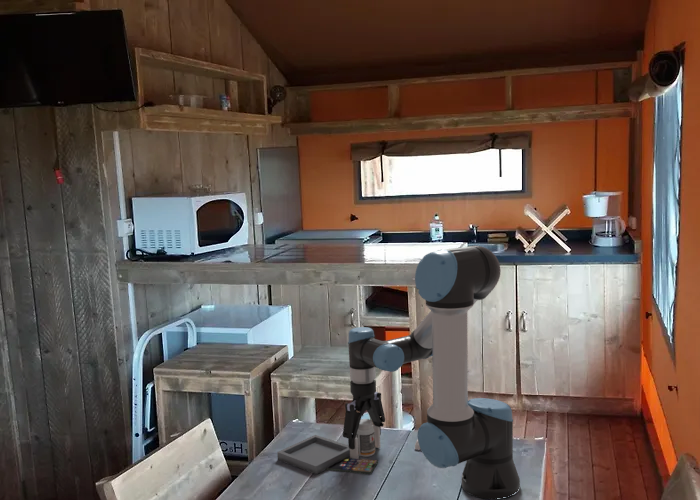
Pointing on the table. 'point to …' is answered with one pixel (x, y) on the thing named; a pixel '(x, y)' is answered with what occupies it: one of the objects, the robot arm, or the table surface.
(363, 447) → the pill bottle
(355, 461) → the smartphone
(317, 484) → the table surface
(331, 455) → the slate tray
